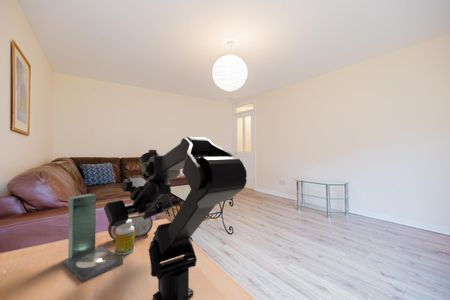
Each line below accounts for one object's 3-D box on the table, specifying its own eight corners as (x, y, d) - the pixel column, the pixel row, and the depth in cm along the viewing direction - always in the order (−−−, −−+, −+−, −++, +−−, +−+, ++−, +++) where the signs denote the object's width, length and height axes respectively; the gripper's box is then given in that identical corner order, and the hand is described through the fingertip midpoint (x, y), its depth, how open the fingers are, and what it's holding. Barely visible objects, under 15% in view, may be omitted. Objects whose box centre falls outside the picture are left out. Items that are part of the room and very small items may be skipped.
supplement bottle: (126, 256, 60) (126, 224, 60) (111, 254, 61) (111, 223, 62) (137, 248, 66) (138, 218, 66) (123, 246, 67) (123, 217, 67)
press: (123, 263, 57) (123, 200, 57) (82, 282, 48) (83, 208, 49) (88, 241, 70) (88, 190, 70) (51, 252, 62) (52, 195, 62)
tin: (151, 231, 79) (151, 210, 79) (153, 234, 77) (153, 212, 77) (107, 240, 71) (107, 217, 71) (108, 244, 68) (108, 219, 68)
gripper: (166, 167, 67) (147, 195, 73) (107, 171, 51) (89, 207, 58) (182, 194, 62) (160, 221, 68) (123, 207, 47) (101, 241, 53)
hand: (130, 221), depth 62 cm, fingers open, 9 cm apart
